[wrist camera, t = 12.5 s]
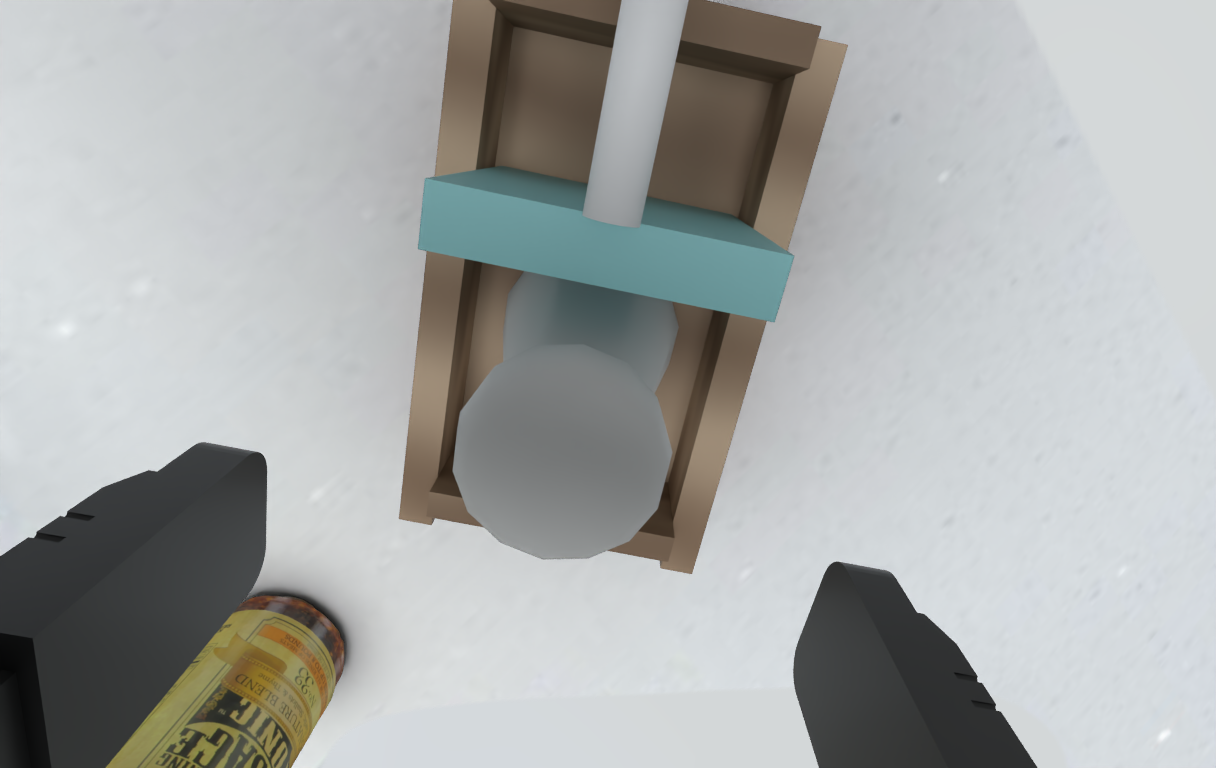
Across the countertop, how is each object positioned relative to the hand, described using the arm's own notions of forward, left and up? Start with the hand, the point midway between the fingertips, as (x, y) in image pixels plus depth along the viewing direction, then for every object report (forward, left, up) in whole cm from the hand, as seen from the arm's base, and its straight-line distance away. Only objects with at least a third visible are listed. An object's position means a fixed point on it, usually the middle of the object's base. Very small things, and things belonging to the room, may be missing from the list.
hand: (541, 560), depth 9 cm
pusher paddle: (-6, 0, -15) cm, 17 cm away
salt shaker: (0, 0, -16) cm, 16 cm away
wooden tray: (0, 0, -17) cm, 17 cm away
